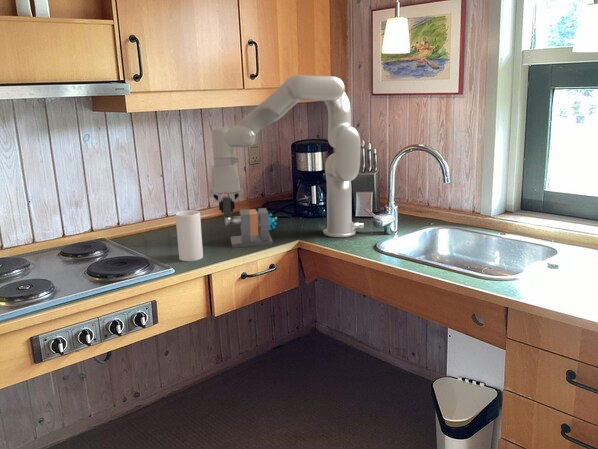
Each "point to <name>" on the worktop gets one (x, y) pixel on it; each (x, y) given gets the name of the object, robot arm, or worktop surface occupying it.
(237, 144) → the robot arm
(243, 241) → the bracket
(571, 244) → the worktop surface
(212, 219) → the worktop surface
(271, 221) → the blue spiky toy
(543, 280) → the worktop surface
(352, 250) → the worktop surface
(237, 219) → the shaft
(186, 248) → the cup
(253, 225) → the orange square block
